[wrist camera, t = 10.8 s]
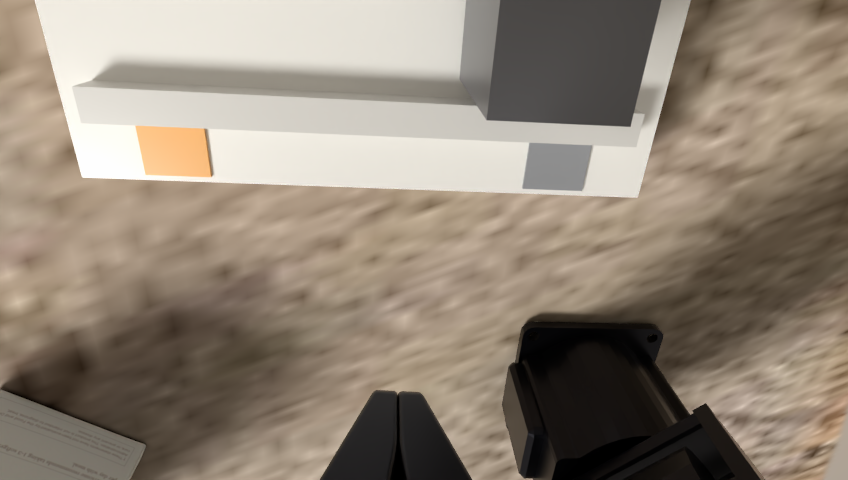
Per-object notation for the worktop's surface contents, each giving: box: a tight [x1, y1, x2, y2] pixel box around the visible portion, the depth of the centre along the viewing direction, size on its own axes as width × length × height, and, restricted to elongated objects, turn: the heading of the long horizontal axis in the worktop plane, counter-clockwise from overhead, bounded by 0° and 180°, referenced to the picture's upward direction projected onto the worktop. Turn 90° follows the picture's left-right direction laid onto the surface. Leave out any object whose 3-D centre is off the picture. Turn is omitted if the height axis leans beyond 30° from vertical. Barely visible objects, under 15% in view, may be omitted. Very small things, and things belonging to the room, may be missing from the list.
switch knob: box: [459, 0, 661, 127], centre depth 12 cm, size 3×3×5 cm
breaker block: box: [35, 0, 691, 198], centre depth 15 cm, size 18×10×4 cm, turn 87°
